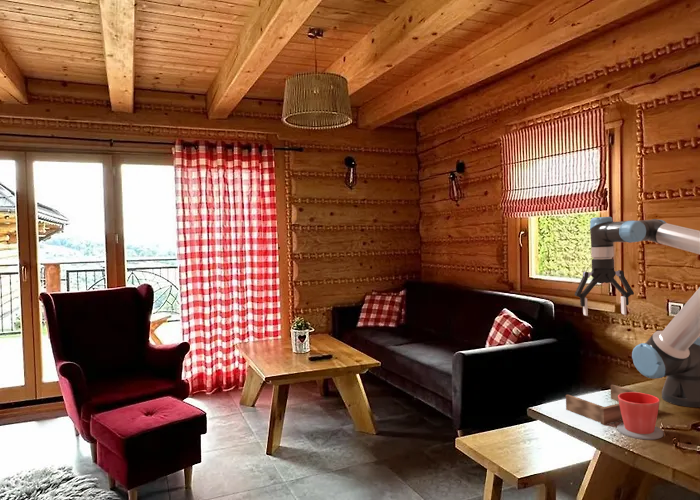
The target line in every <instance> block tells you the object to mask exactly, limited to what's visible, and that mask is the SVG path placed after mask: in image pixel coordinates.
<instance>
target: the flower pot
mask: <svg viewBox="0 0 700 500" xmlns="http://www.w3.org/2000/svg"><path fill="white" fill-rule="evenodd" d="M638 392H639V391H637V392H625V393H621V394H619V395H618V400H619V401H618V404H619V405H620V410H621V415H622V419H623V420H622V423H624V427H625V429H627V430H628V431H630V432H633V433H637V434H651V433H653V432H654V429H655V426H656V424H657V419H658V413H659V407H660V402H661V401H660V398H659V397H657V396H655V395H653V396H652V394H648V393H643V392H640V393H638Z"/></svg>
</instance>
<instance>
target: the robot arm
mask: <svg viewBox="0 0 700 500" xmlns="http://www.w3.org/2000/svg"><path fill="white" fill-rule="evenodd" d="M589 232H590V249H591V250H590V252H591V254H590V255H591V272H590V271H582V278H581V280H580V282H579V284H578V286H577V288H576V290H575V293H574V296H575V297H577V298H579V300H580V301H579V304H580V307H582V313H583V316H586V317H588V316H589V314H588V313H589V312H588V311H589V310H588V308H589V307H588V298H587V295H588V294H589V293H590V292H591V291H592V290H593V289H594V287H595V286H596V285H597V284H604V283H605V284H609V283H610V284H611V285H613V286H614V288H615V289H616V290H617V291H618V292H619V293H620V294H621V296H620V312H621V314H622V315H624V316H625V315H627V306H629V302H630V301H629V297H631V296H633V295H634V294H635V293H634V290H633V289H632V287H631V286H630V283H629V282H628V280H627V278H626V276H625V272H624V270H620V269H619V270H615V260H614V257H615V254H614V243H638V242H646V241H647V242H653V243H655V244H656V243H657V244H659V245H660V244H661V245H664V246H668V247H671V248H675V249H679V250H682V251H685V252H689V253H690V252H691V253H693V254H697V255H700V230H697V229H695V228H694V229H693V228H688V227H684V226H680V225H677V224H672V223H667V222H666V221H665V220H663V219H658V218H657V219H655V218H654V219H643V220H633V219H631V220H621V221H620V220H619V221H613V217H611V216H601V217H600V216H598V217H592V218H591V219H590V224H589ZM616 276H617V277H618V279H619V281H620V282H621V284H622V285H623V287H622V286H621V284H619V283H618V282H617V280H616V279H615V277H616ZM590 277H592V279H591V280H590V282H589V283H588V285H586V284H587V282H588V280H589V278H590ZM585 286H586V287H585ZM631 359H632V362H633V365H634V367H635V368H636V370H637V371H638V372H639V373H640V374H641V375H642V376H644V377H646V378H647V379H648V378H649V379H662V378H665V381H664V384H663V387H662V390H661V398H662V400H664V401H665V402H667V403H671V404H673V405H677V406H683V407H687V408H688V407H689V408H700V286H699V287H698V288H697V290H696V291H695V292H694V293H693V295H692V296H691V297H690V298H689V299H688V300H687V301H686V302H685V304H684V305H683V307H681V309H679V311H678V312H677V313H676V315H674V316H673V318H672V319H671V320H670V322H669V323H668V324H667V325H666V327H664V329H663V330H656V331H654V332H653V334H652V335H651V336H650V337H649V339H648V340H647V341H645V342H643V343H642V342H641V343H639V344H637V345H636V346H635V347H633V349H632V352H631Z"/></svg>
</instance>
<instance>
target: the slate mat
mask: <svg viewBox="0 0 700 500" xmlns="http://www.w3.org/2000/svg"><path fill="white" fill-rule="evenodd" d="M616 427H617V431H618V432H619V434H621V435H623V436H626V437H629V438H633V439H638V440H647V441H650V440H651V441H652V440H658V439H661V438H662V437H664V431H663V429H661V428H660V427H658V426H656V425H655V429H654V432H653V433H651V434H637V433H633V432H630V431H628V430H627V429H625V427H624V422H621V423H619V424H618V425H617V426H616Z"/></svg>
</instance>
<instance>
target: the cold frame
mask: <svg viewBox="0 0 700 500" xmlns="http://www.w3.org/2000/svg"><path fill="white" fill-rule="evenodd" d="M625 392H638V393H641V392H639V391H637V390H636V391H635V390H633V389H629V388H625V387H623V386H619V385H615V384H610V399H611V400H613V401H616V402H619V400H618V395H619V394H621V393H625ZM651 395H652V394H651ZM652 396H654V395H652ZM565 409H566V410H567V411H569V412H571V413H574V414H577V415H580V416H582V417H585V418H587V419H589V420H592V421H595V422H598V423H600V425H603V426H605V425H609V424H612V423H613V424H614V423H616V422H620V421H623V419H622V415H621V410H620V405H619V403H616V404H615V403H614V404H612V405H611V404H610V405H607V406H602V405H599V404H597V403H594V402H591V401H588V400H586V399H582V398H579V397H576V396H574V395H570V394H566V395H565Z"/></svg>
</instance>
